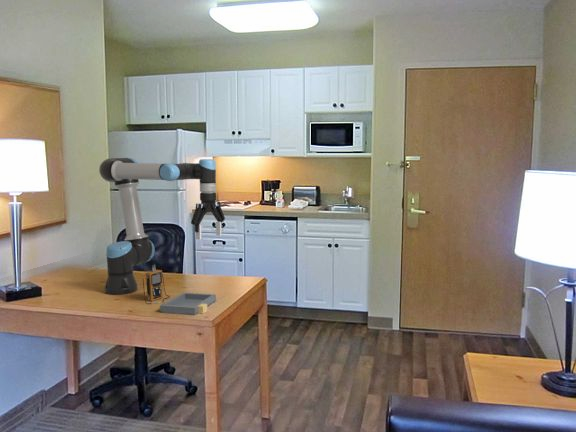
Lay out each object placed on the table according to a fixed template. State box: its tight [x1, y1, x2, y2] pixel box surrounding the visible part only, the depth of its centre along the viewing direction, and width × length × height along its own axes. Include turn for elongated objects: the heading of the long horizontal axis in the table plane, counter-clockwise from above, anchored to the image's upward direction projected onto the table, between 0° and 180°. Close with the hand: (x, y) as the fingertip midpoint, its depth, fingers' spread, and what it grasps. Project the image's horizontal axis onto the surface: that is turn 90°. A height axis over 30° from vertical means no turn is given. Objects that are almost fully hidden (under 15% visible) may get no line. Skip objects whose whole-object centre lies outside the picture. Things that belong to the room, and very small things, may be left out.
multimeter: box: [142, 255, 170, 305], centre depth 230 cm, size 15×10×20 cm
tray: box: [159, 292, 217, 316], centre depth 220 cm, size 18×21×3 cm
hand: (208, 237), depth 242 cm, fingers open, 13 cm apart
